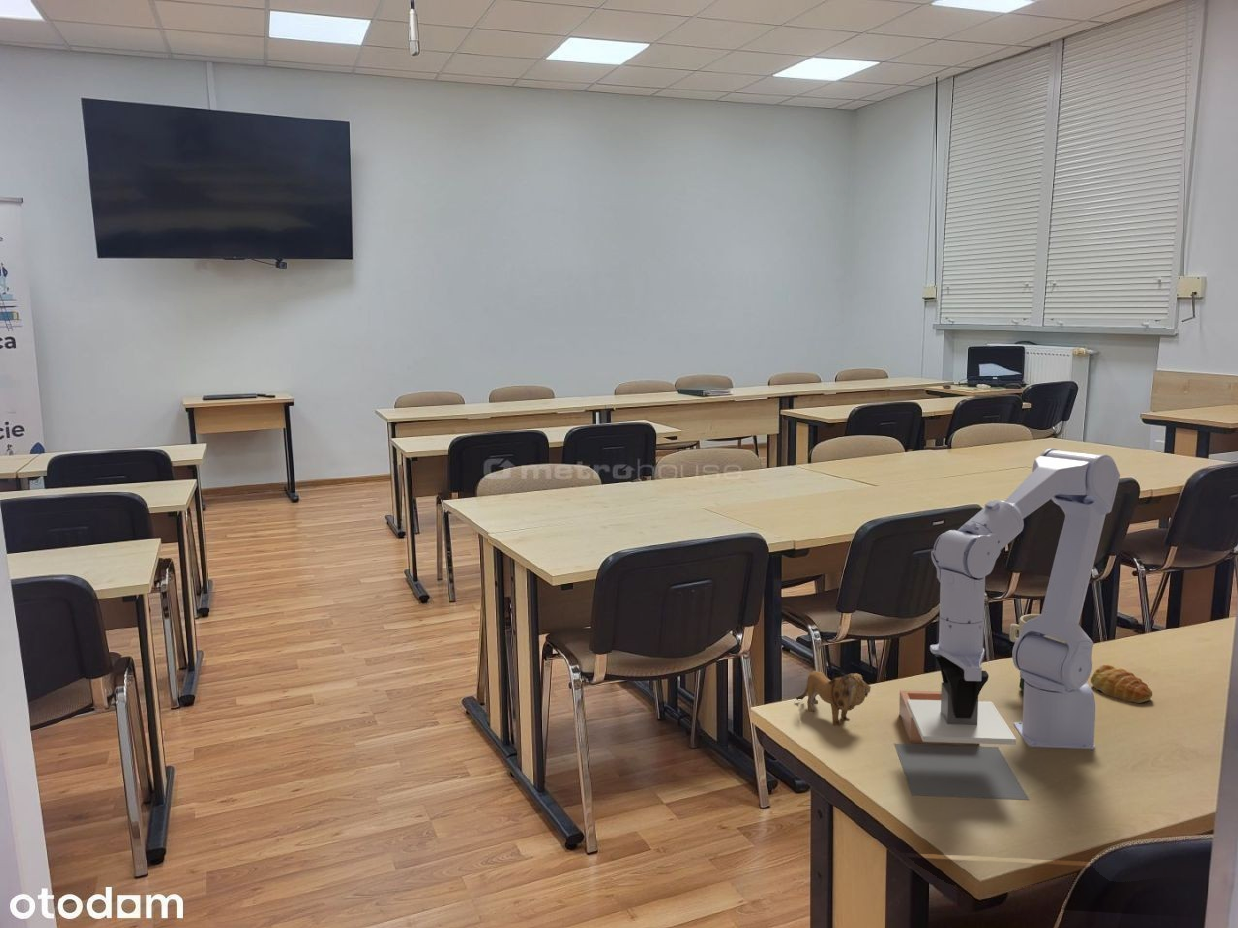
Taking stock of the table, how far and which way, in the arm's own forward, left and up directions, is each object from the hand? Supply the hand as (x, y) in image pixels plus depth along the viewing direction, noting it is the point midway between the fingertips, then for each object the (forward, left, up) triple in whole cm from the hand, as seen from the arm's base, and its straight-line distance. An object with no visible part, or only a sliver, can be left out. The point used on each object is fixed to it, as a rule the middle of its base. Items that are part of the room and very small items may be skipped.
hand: (959, 710), depth 125 cm
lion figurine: (+16, -17, -10) cm, 25 cm away
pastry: (-34, -31, -10) cm, 47 cm away
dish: (0, -13, -9) cm, 16 cm away
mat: (0, 0, -9) cm, 9 cm away
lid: (0, 0, -2) cm, 2 cm away
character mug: (-20, -29, -10) cm, 37 cm away
